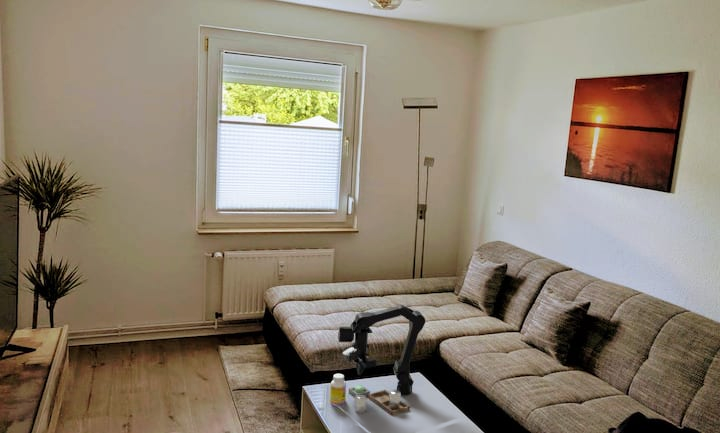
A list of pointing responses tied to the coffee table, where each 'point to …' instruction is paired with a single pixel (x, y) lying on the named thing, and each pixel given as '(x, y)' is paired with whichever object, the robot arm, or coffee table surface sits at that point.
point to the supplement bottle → (338, 390)
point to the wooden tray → (387, 402)
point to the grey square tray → (365, 393)
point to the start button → (359, 389)
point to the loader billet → (394, 399)
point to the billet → (360, 403)
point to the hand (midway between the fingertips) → (359, 374)
